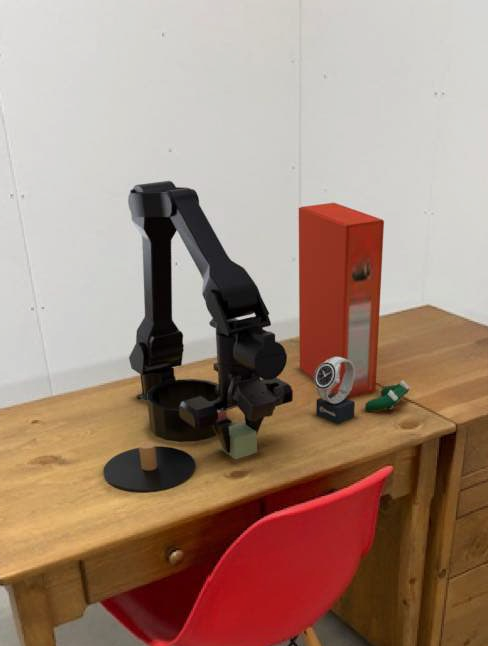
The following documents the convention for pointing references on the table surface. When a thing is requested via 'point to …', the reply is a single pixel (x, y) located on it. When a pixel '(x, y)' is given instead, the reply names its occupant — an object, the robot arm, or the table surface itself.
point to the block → (242, 440)
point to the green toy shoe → (388, 397)
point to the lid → (149, 468)
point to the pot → (166, 409)
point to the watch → (334, 404)
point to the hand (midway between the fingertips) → (239, 448)
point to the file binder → (340, 291)
